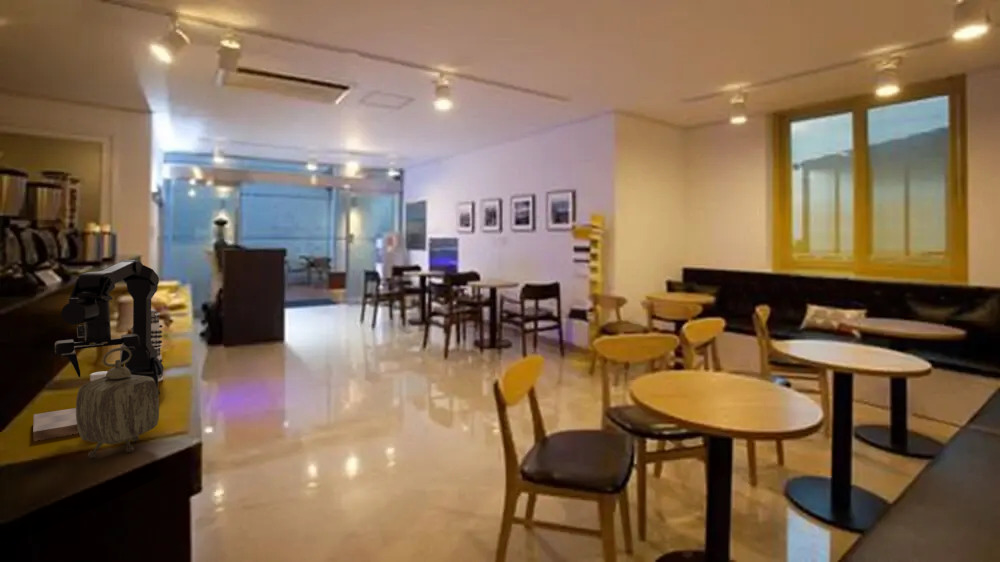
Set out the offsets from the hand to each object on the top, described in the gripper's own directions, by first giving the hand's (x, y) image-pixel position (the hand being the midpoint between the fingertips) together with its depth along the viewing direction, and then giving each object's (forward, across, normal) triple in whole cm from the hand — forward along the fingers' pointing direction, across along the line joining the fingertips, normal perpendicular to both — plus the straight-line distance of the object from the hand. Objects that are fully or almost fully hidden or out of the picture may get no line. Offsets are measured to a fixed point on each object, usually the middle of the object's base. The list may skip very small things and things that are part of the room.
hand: (100, 374), depth 151 cm
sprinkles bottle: (+13, 0, +1) cm, 13 cm away
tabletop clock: (+13, -2, +30) cm, 33 cm away
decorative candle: (+13, -16, -39) cm, 44 cm away
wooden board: (+13, +5, +1) cm, 14 cm away
